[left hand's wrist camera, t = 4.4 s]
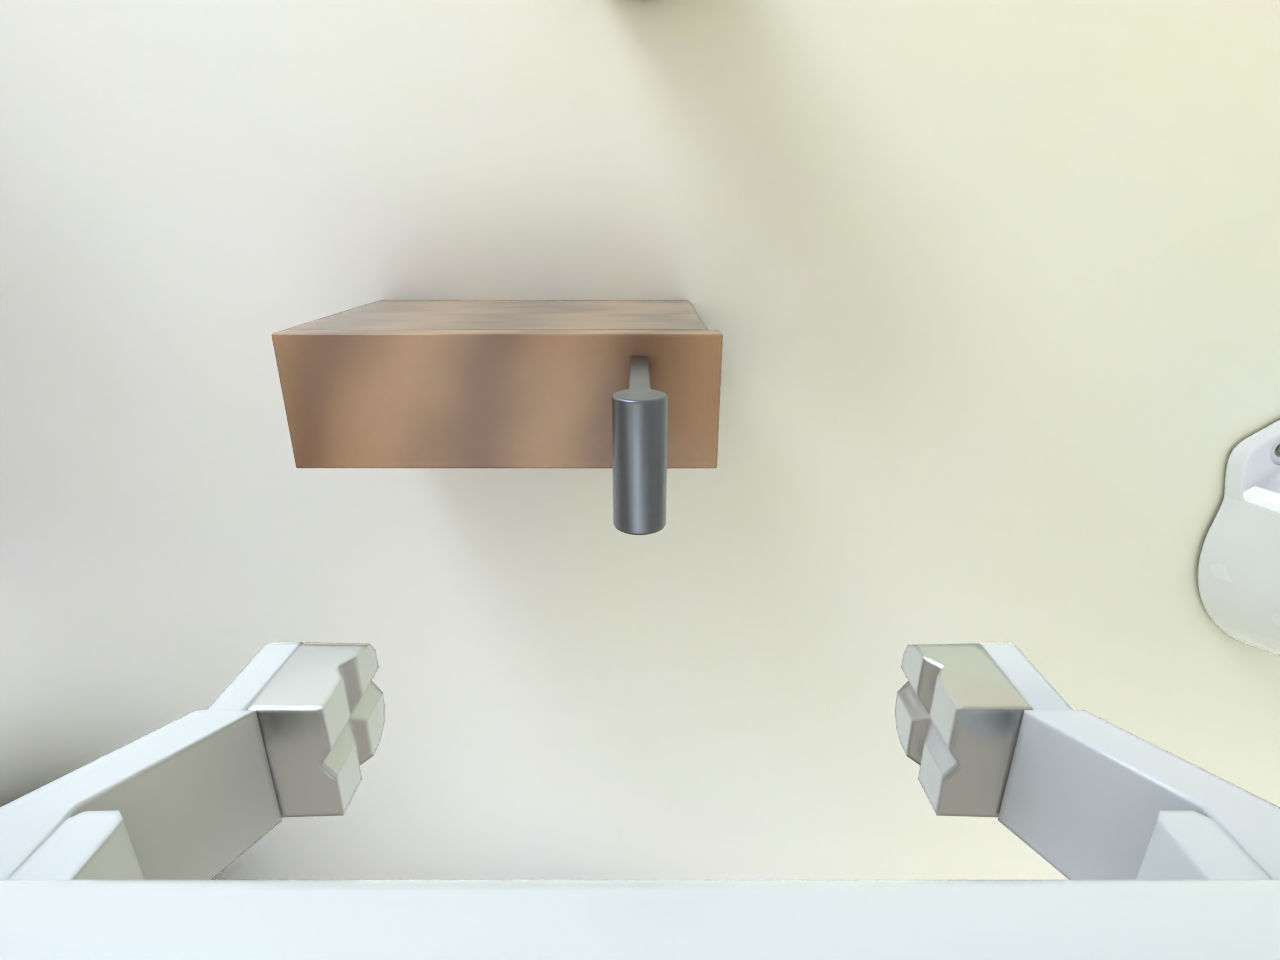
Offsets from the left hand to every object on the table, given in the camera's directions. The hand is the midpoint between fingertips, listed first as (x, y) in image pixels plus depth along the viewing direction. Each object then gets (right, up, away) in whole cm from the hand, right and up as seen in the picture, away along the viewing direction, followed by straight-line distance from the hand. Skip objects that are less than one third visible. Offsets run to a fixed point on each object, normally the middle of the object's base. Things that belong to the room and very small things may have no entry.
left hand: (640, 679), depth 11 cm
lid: (-5, +6, +17) cm, 18 cm away
